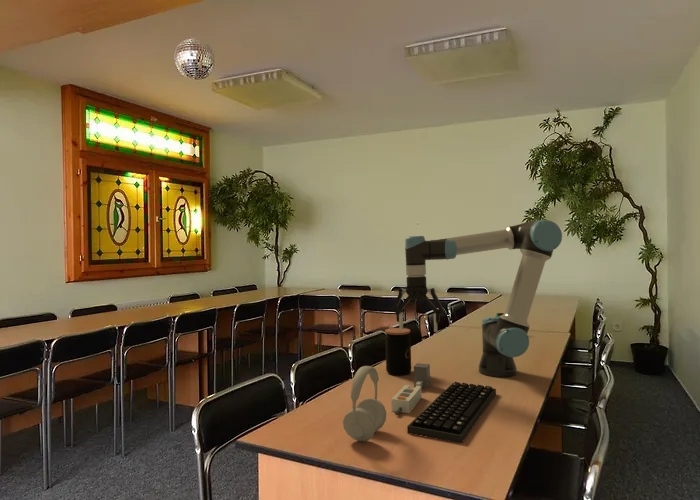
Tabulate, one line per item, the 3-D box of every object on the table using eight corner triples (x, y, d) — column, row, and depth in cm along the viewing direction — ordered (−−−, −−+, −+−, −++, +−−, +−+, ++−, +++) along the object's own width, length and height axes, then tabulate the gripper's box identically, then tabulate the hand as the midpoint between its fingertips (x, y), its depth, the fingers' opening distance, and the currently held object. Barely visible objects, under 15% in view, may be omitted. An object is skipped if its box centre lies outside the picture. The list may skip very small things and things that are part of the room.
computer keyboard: (461, 445, 128) (461, 431, 128) (407, 435, 136) (407, 422, 136) (496, 396, 168) (495, 385, 168) (452, 390, 175) (452, 380, 175)
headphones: (362, 421, 145) (361, 357, 145) (391, 425, 142) (389, 360, 141) (338, 447, 128) (336, 374, 128) (369, 452, 125) (368, 377, 124)
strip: (421, 397, 166) (421, 384, 166) (405, 417, 148) (405, 403, 148) (405, 395, 169) (405, 383, 169) (387, 415, 150) (387, 401, 150)
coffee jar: (410, 376, 192) (409, 332, 192) (384, 375, 195) (383, 332, 194) (412, 369, 203) (411, 328, 203) (387, 368, 205) (386, 327, 205)
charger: (430, 384, 181) (429, 364, 181) (424, 391, 173) (424, 370, 172) (417, 383, 183) (417, 363, 183) (411, 390, 175) (410, 369, 174)
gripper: (450, 274, 180) (452, 329, 180) (388, 275, 189) (390, 327, 189) (446, 276, 173) (449, 333, 173) (382, 277, 182) (384, 331, 182)
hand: (418, 330), depth 181 cm, fingers open, 13 cm apart
